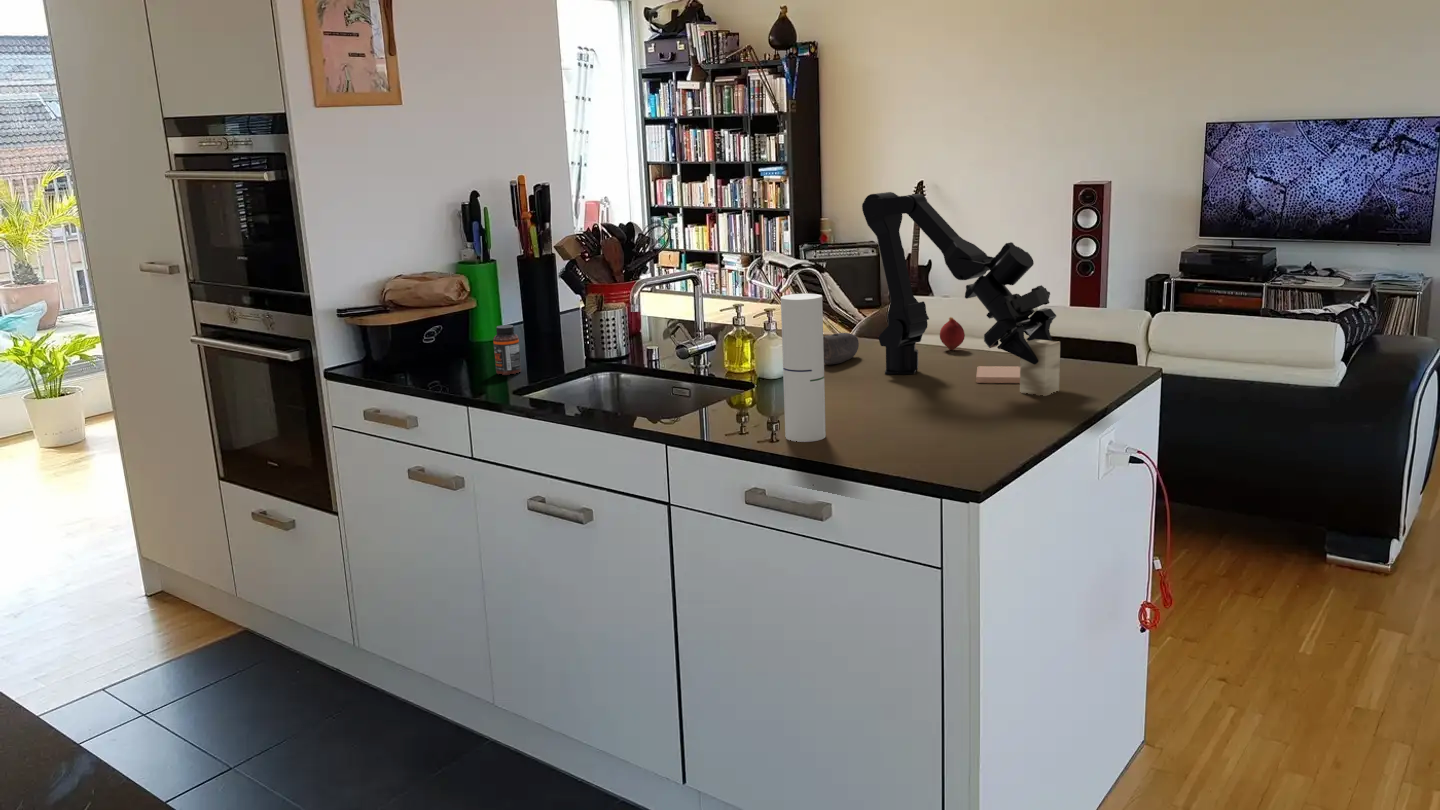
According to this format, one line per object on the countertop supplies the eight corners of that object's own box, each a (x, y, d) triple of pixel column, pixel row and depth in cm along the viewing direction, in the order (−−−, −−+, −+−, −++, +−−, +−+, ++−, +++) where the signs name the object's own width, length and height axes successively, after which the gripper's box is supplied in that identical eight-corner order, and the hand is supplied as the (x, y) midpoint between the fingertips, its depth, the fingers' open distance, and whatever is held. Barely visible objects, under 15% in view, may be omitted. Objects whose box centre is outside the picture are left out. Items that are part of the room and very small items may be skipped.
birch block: (1019, 392, 224) (1020, 343, 222) (1034, 387, 228) (1035, 338, 226) (1044, 396, 220) (1045, 346, 218) (1059, 390, 224) (1060, 341, 222)
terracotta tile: (976, 382, 234) (976, 377, 234) (977, 371, 245) (977, 366, 244) (1030, 383, 232) (1030, 377, 231) (1029, 371, 242) (1029, 366, 242)
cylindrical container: (782, 432, 203) (778, 295, 197) (821, 430, 203) (818, 292, 197) (788, 443, 196) (783, 300, 190) (828, 440, 196) (825, 298, 190)
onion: (963, 347, 272) (963, 314, 270) (965, 352, 266) (966, 318, 264) (938, 348, 272) (938, 315, 270) (940, 352, 267) (940, 319, 265)
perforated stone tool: (848, 355, 269) (848, 326, 268) (867, 357, 266) (867, 328, 264) (812, 366, 258) (811, 336, 257) (831, 368, 255) (830, 338, 253)
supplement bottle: (491, 373, 267) (487, 326, 264) (513, 369, 271) (508, 323, 268) (504, 376, 263) (500, 329, 260) (526, 372, 267) (522, 325, 264)
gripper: (998, 279, 215) (1048, 341, 210) (1048, 268, 228) (1097, 327, 223) (962, 316, 223) (1010, 377, 217) (1013, 304, 235) (1060, 361, 230)
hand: (1046, 360), depth 222 cm, fingers open, 7 cm apart
